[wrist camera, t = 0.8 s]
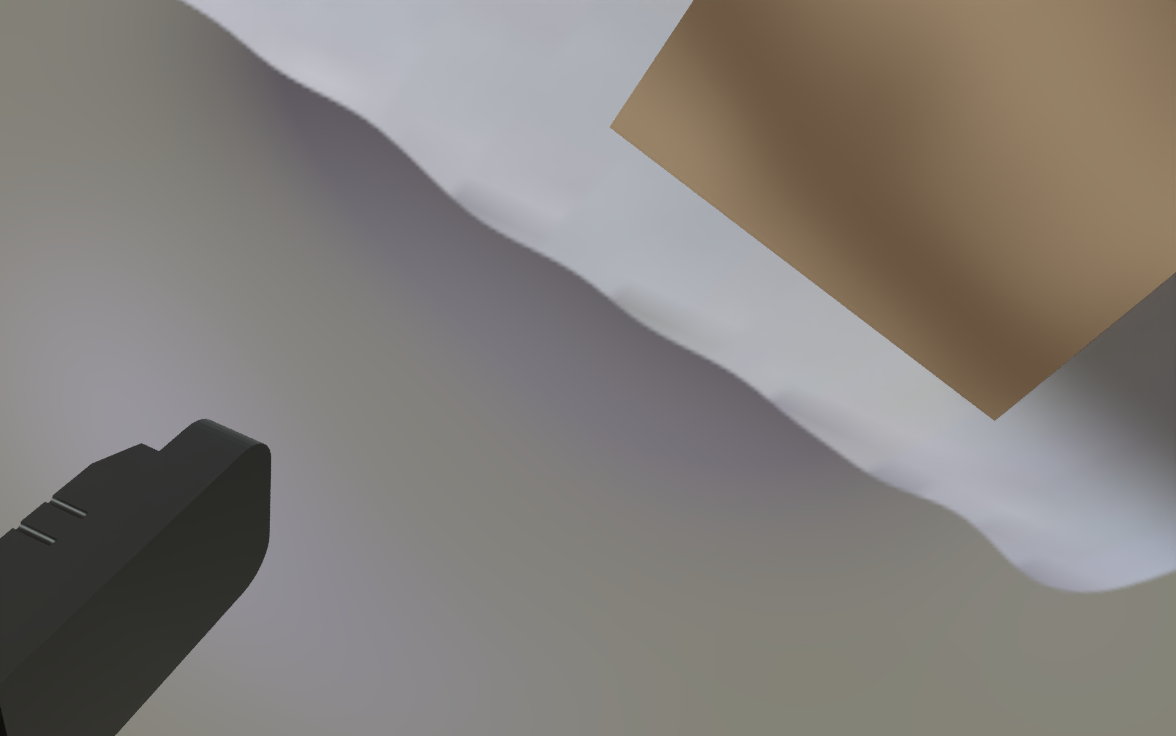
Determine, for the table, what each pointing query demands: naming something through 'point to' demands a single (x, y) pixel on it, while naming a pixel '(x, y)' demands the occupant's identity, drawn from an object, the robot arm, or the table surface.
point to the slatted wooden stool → (936, 163)
